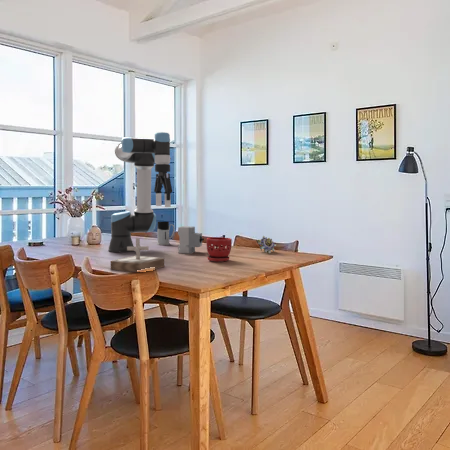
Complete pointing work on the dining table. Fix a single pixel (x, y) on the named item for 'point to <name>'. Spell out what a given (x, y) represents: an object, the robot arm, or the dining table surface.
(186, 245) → the circuit breaker
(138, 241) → the pipe connector
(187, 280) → the dining table surface
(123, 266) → the stand
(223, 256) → the plant pot
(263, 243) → the passion flower
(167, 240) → the grey travel mug
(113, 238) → the robot arm
